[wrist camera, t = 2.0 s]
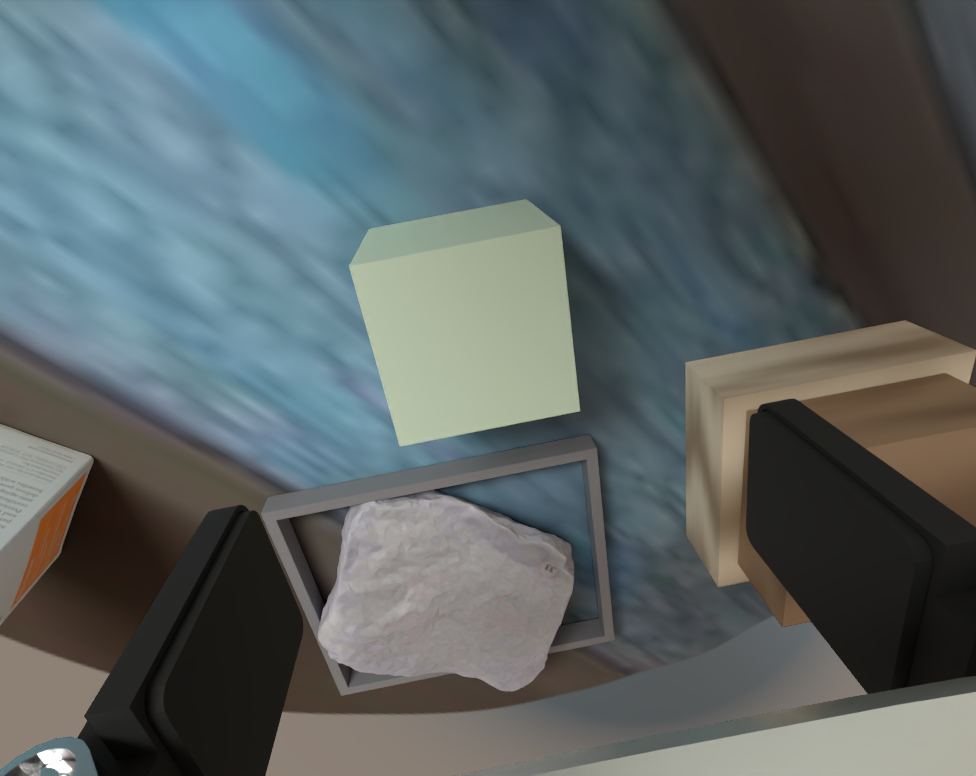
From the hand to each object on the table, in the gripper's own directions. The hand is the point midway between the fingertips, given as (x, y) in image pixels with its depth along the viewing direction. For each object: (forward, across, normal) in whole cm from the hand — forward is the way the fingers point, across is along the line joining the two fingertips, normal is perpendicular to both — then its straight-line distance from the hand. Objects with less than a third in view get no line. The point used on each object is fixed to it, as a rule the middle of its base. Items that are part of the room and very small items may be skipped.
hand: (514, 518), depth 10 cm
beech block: (+14, -14, +9) cm, 22 cm away
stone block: (+14, +3, +13) cm, 20 cm away
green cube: (+13, 0, -1) cm, 13 cm away
